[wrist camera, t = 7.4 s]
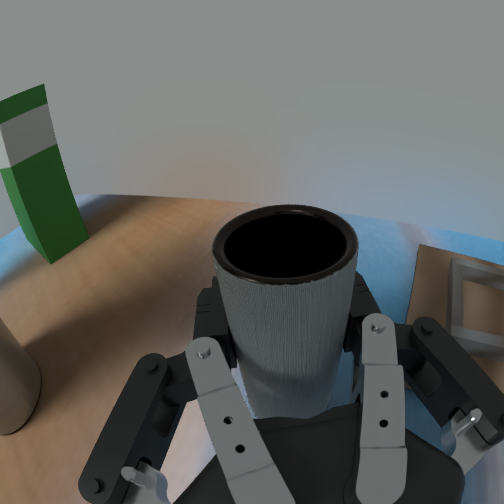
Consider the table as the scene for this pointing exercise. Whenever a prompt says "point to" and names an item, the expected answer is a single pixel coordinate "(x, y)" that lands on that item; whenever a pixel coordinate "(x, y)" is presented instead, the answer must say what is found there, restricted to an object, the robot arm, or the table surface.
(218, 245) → the grey cylinder
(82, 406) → the table surface
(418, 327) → the robot arm
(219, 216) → the table surface
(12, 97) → the hardback book
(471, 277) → the base
